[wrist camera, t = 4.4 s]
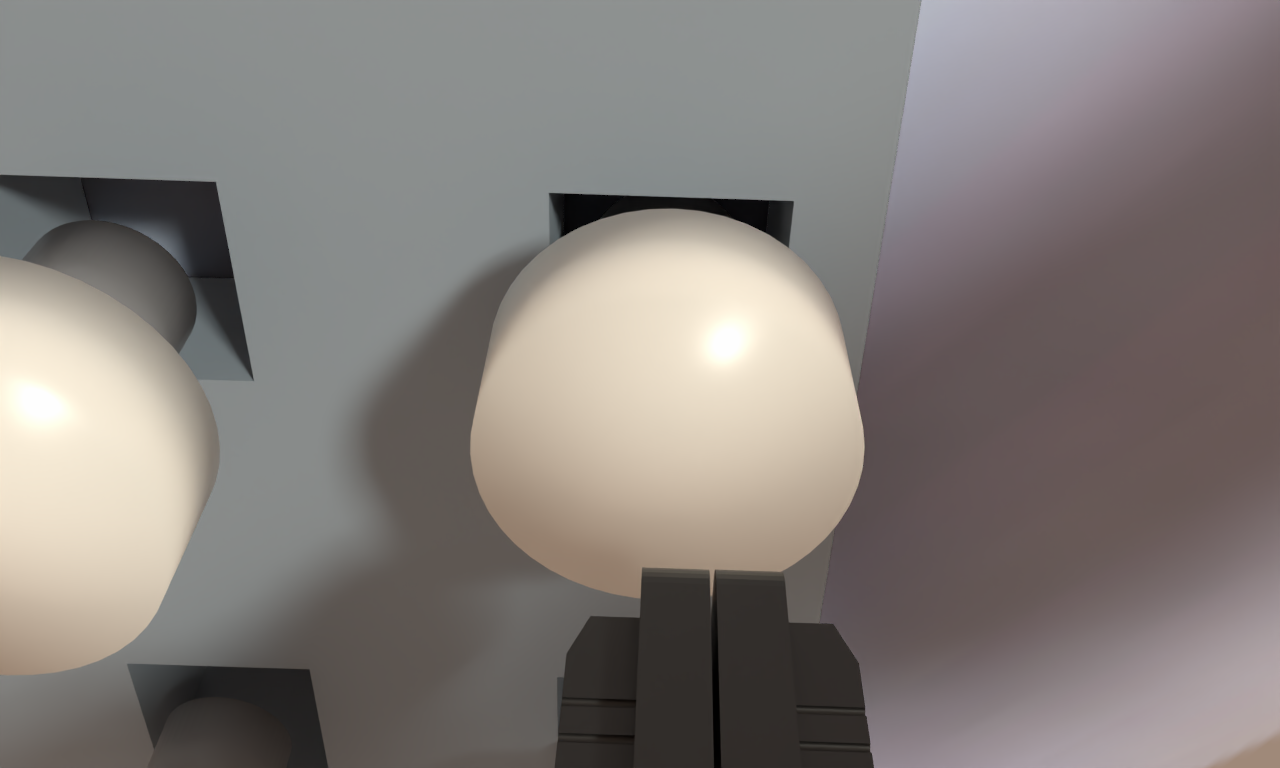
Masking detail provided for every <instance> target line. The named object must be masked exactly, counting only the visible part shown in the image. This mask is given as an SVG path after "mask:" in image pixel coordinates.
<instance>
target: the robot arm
mask: <svg viewBox="0 0 1280 768" xmlns="http://www.w3.org/2000/svg"><path fill="white" fill-rule="evenodd" d="M555 768H874V765H873V758H872V753H870V738H869V731H868V724H867V717H866V716H865V703H864V697H863V690H862V683H861V676H860V669H859V663H858V662H857V660H856V659H855V657H854V655H853V654H852V652H851V651H850V649H849V648H848V646H847V645H846V643H845V642H844V640H843V639H842V637H841V636H840V634H839V632H838V631H837V629H836V628H835V626H834V625H833V624H819V623H790V622H789V619H788V608H787V597H786V586H785V578H784V574H783V572H772V571H743V570H715V571H714V580H713V593H712V607H711V599H710V571H709V570H703V569H674V568H645V567H642V578H641V601H640V618H635V617H607V616H590V617H589V619H588V621H587V622H586V624H585V625H584V627H583V628H582V630H581V631H580V633H579V635H578V636H577V638H576V639H575V641H574V642H573V644H572V646H571V647H570V649H569V650H568V652H567V653H566V663H565V672H564V682H563V691H562V706H561V711H560V720H559V730H558V742H557V749H556V758H555Z"/></svg>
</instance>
